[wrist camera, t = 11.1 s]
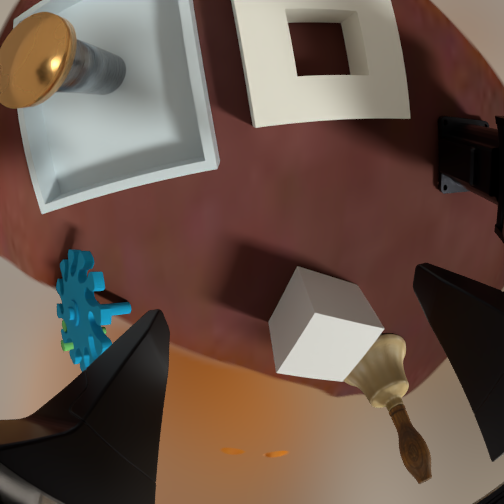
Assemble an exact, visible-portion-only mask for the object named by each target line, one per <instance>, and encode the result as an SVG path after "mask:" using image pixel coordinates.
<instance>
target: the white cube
mask: <svg viewBox="0 0 504 504" xmlns="http://www.w3.org/2000/svg"><path fill="white" fill-rule="evenodd" d="M268 323H269V329H270V335H271V342H272V348H273V354H274V361H275V367H276V373H281V374H287V375H293V376H300V377H307V378H315V379H323V380H332V381H342V382H343V380H344V379H345V378H346V377H347V376H348V375H349V373H350V372H351V371H352V370H353V369H354V367H355V366H356V365H357V364H358V363H359V361H360V360H361V359H362V358H363V356H364V355H365V354H366V353H367V351H368V350H369V349H370V347H371V346H372V345H373V344H374V342H375V341H376V340H377V338H378V337H379V336H380V334H381V333H382V332H383V330H384V327H383V325H382V324H381V322H380V320H379V319H378V317H377V315H376V314H375V312H374V310H373V309H372V307H371V306H370V304H369V302H368V301H367V299H366V298H365V296H364V294H363V293H362V291H361V290H360V288H359V287H358V285H356V284H353V283H350V282H347V281H344V280H340V279H337V278H334V277H331V276H328V275H324V274H321V273H318V272H315V271H312V270H308V269H305V268H302V267H299V266H297V267H296V269H295V271H294V273H293V275H292V277H291V279H290V281H289V283H288V285H287V287H286V289H285V291H284V293H283V295H282V297H281V299H280V301H279V303H278V305H277V306H276V308H275V310H274V312H273V314H272V316H271V318H270V320H269V322H268Z"/></svg>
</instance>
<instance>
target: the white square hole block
mask: <svg viewBox="0 0 504 504" xmlns="http://www.w3.org/2000/svg"><path fill="white" fill-rule="evenodd" d="M231 3H232V9H233V14H234V19H235V25H236V31H237V36H238V42H239V47H240V53H241V59H242V65H243V71H244V77H245V83H246V89H247V95H248V101H249V107H250V113H251V119H252V126H253V127H255V128H257V127H265V126H272V125H281V124H290V123H300V122H311V121H324V120H341V119H373V118H395V119H411V118H410V106H409V96H408V87H407V79H406V72H405V66H404V59H403V54H402V48H401V43H400V38H399V33H398V28H397V24H396V20H395V16H394V12H393V8H392V4H391V1H390V0H231ZM295 22H326V23H341V26H342V31H343V36H344V41H345V46H346V52H347V57H348V63H349V70H350V75H316V76H297V71H296V65H295V59H294V54H293V48H292V43H291V37H290V32H289V27H288V23H295Z"/></svg>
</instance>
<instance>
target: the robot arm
mask: <svg viewBox="0 0 504 504" xmlns="http://www.w3.org/2000/svg"><path fill="white" fill-rule="evenodd" d="M495 119H496V124H497V128H498V130H497V129H493V128H489V124H488V123H487V122H486V121H481V120H474V119H466V118H457V117H447V116H440V117H439V119H438V129H439V183H438V188H439V191H440V192H442V193H455V192H466V191H471V192H473V193H475V194H477V195H479V196H481V197H483V198H485V199H487V200H489V201H491V202H493V203H495V204H496V205H498V212H497V222H496V224H495V233H496V234H497V235H498V236H499V238H500V239H501V240H502V241H503V243H504V116H495ZM443 121H445V124H443ZM484 125H485V127H484ZM444 185H445V187H444V189H443V186H444ZM413 289H414V292H415V294H416V296H417V298H418V300H419V302H420V304H421V306H422V309H423V311H424V313H425V315H426V318H427V320H428V322H429V324H430V326H431V327H432V329H433V331H434V333H435V335H436V336H437V338H438V340H439V342H440V344H441V346H442V347H443V349H444V351H445V353H446V355H447V357H448V359H449V361H450V363H451V365H452V367H453V369H454V371H455V373H456V375H457V377H458V379H459V381H460V383H461V385H462V388H463V390H464V392H465V394H466V396H467V399H468V401H469V403H470V405H471V408H472V410H473V412H474V414H475V417H476V420H477V422H478V425H479V428H480V430H481V433H482V435H483V438H484V441H485V443H486V446H487V449H488V452H489V455H490V458H491V460H492V462H493V461H495V460H496V459H498V458H499V457H500V456H502V455H503V454H504V292H502V291H501V290H498V289H496V288H493V287H491V286H488V285H486V284H483V283H480V282H478V281H475V280H472V279H470V278H467V277H465V276H462V275H459V274H456V273H454V272H451V271H448V270H446V269H443V268H440V267H437V266H434V265H432V264H429V263H423V264H418V265H417V266H416V269H415V275H414V281H413ZM169 339H170V331H169V327H168V325H167V322H166V320H165V317H164V315H163V313H162V311H161V310H160V309H157V310H149V311H148V312H147V313H146V314H145V315H143V316H142V317H141V318H140V319H139V320H138V321H137V322H136V323H135V324H134V325H132V326H131V327H130V328H129V329H128V330H127V331H126V332H125V333H124V334H123V335H122V336H120V337H119V338H118V339H117V340H116V341H115V342H114V343H113V344H112V345H111V346H110V347H109V348H107V349H106V350H105V351H104V352H103V353H102V354H101V355H100V356H99V357H98V358H97V359H96V360H95V361H94V362H92V363H91V364H90V365H89V366H88V367H87V368H86V370H84V371H83V372H82V373H81V374H80V375H79V376H78V377H77V378H75V379H74V380H73V381H72V382H71V383H70V384H69V385H68V386H66V387H65V388H64V389H63V390H62V391H61V392H59V393H58V394H57V395H56V396H54V397H53V398H52V399H51V400H49V401H48V402H47V403H46V404H45V405H43V406H42V407H41V408H40V409H39V410H37V411H36V412H35V413H33V414H32V415H30V416H28V417H26V418H22V419H16V420H15V419H14V420H0V504H155V490H156V483H155V482H156V474H157V462H158V450H159V441H160V432H161V423H162V415H163V407H164V398H165V391H166V384H167V377H168V367H169ZM473 504H504V482H503V483H502V484H500V485H499V486H498V487H496V488H495V489H494V490H492V491H491V492H489V493H488V494H486V495H485V496H484V497H482V498H481V499H479V500H478V501H476V502H474V503H473Z"/></svg>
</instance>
